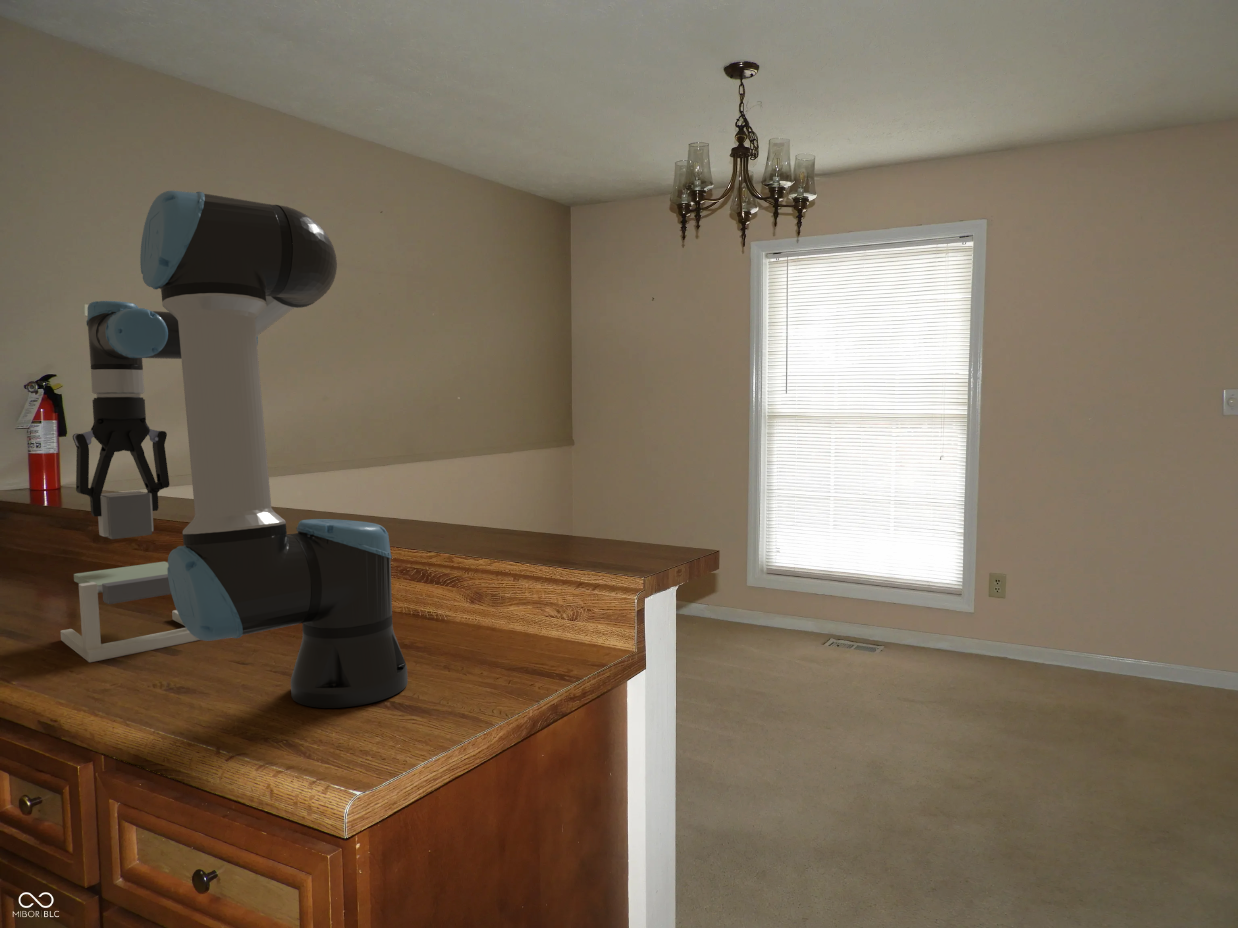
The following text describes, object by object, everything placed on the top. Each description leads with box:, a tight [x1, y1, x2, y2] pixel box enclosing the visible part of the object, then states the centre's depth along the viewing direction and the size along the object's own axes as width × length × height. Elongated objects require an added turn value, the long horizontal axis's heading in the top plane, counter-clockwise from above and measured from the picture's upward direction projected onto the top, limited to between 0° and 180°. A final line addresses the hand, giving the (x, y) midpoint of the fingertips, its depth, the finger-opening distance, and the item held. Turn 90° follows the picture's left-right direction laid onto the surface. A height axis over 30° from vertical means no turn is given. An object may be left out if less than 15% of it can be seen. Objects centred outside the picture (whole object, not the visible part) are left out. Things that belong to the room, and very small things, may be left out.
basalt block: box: [101, 490, 153, 540], centre depth 140 cm, size 6×6×7 cm
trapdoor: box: [73, 561, 172, 605], centre depth 138 cm, size 18×14×3 cm
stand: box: [60, 582, 201, 663], centre depth 138 cm, size 18×19×12 cm
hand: (126, 532), depth 140 cm, fingers closed on basalt block, 6 cm apart
